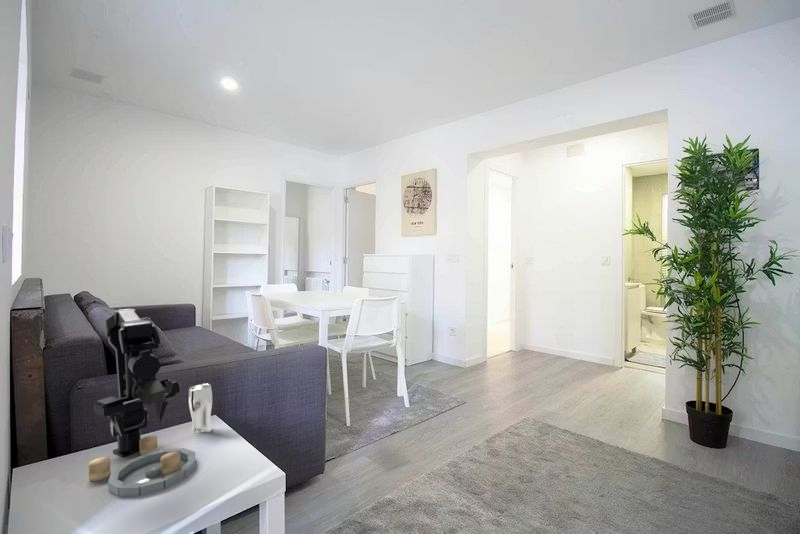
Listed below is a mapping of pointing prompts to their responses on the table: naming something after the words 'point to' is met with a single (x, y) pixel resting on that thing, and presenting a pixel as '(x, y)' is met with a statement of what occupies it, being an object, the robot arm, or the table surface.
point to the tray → (149, 473)
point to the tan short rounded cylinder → (170, 463)
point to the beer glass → (200, 407)
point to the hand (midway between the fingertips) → (141, 428)
